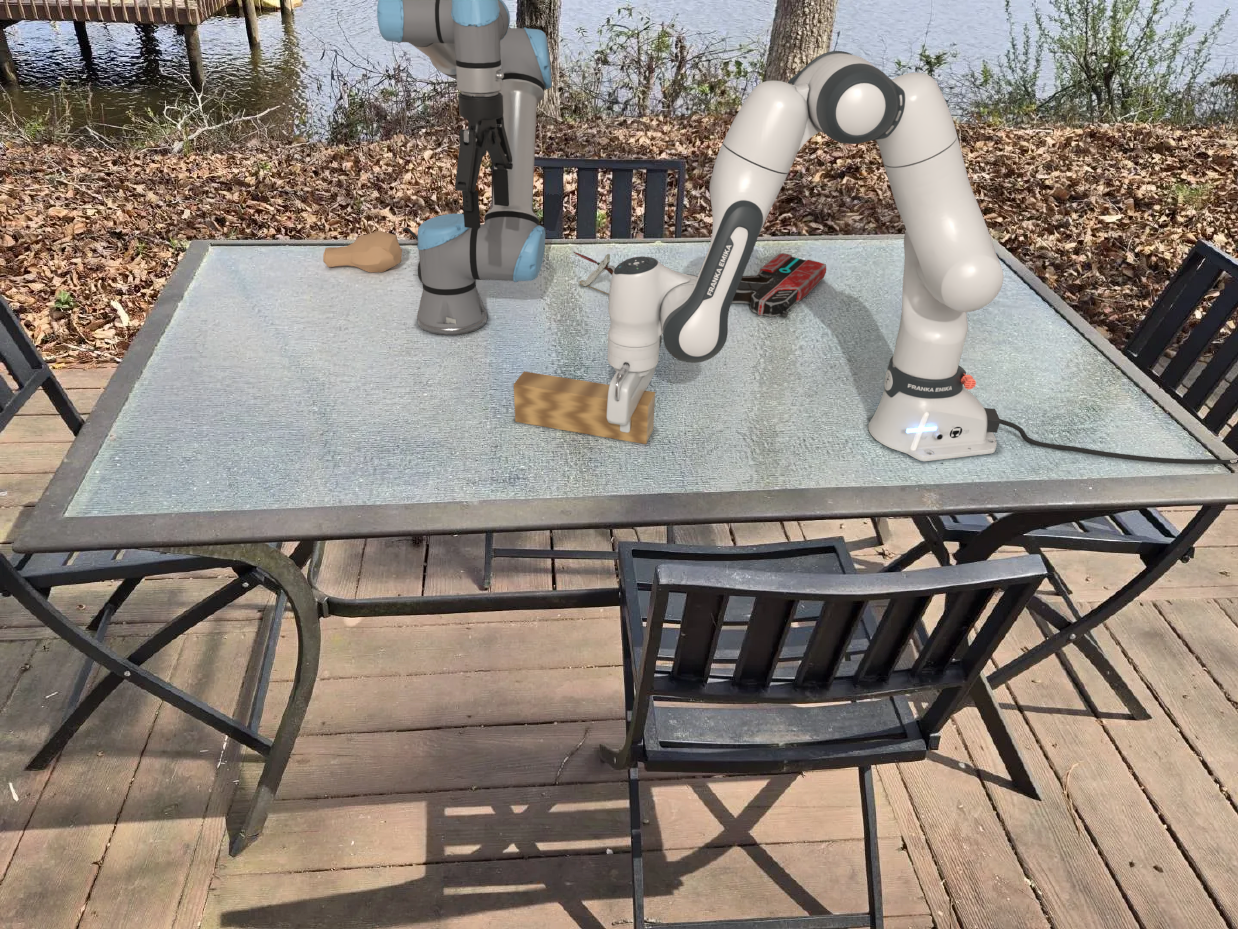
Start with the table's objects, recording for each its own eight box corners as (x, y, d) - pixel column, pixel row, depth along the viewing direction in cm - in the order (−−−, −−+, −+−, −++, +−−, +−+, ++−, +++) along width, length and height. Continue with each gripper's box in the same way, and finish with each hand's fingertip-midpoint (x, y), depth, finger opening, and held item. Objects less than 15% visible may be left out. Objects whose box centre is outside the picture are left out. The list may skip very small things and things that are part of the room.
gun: (708, 284, 207) (784, 305, 199) (760, 245, 229) (831, 262, 221) (706, 302, 209) (781, 323, 201) (758, 261, 231) (828, 278, 223)
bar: (515, 421, 162) (513, 384, 157) (525, 408, 166) (523, 371, 161) (646, 444, 156) (648, 405, 152) (653, 429, 160) (655, 391, 156)
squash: (402, 276, 219) (391, 244, 212) (324, 283, 220) (312, 251, 214) (409, 253, 226) (400, 222, 220) (335, 261, 228) (323, 229, 222)
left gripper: (470, 108, 138) (479, 240, 150) (527, 80, 158) (530, 198, 170) (427, 104, 139) (439, 235, 151) (488, 77, 159) (494, 194, 171)
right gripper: (635, 381, 141) (632, 453, 149) (664, 330, 157) (660, 397, 165) (597, 376, 142) (597, 447, 150) (630, 325, 159) (628, 392, 166)
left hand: (487, 215), depth 160 cm, fingers open, 13 cm apart
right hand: (630, 421), depth 158 cm, fingers closed on bar, 5 cm apart
